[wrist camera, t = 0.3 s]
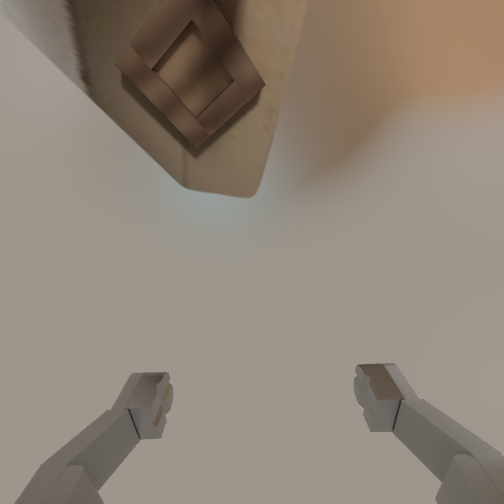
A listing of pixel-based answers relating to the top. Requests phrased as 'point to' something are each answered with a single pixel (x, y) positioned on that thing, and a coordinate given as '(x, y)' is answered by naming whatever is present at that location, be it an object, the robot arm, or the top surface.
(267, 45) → the top surface
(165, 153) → the top surface
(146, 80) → the plinth
